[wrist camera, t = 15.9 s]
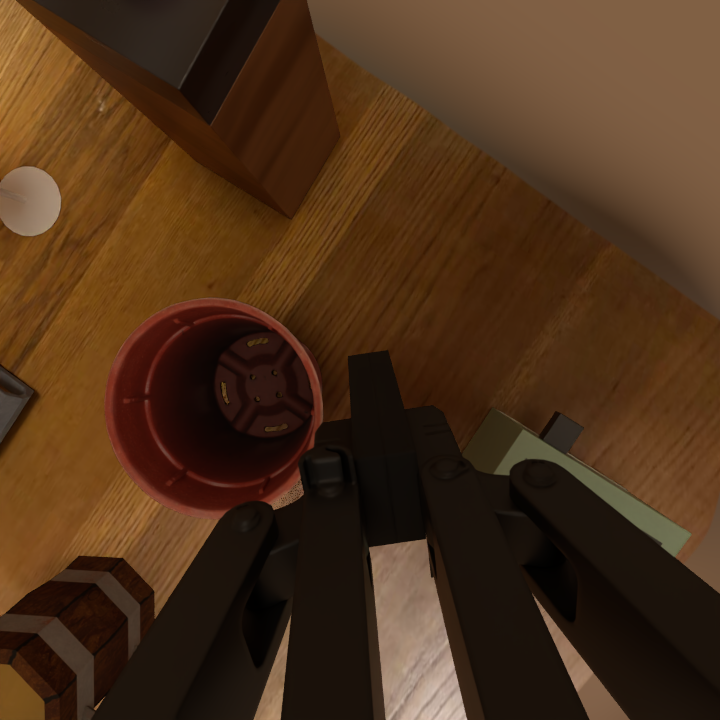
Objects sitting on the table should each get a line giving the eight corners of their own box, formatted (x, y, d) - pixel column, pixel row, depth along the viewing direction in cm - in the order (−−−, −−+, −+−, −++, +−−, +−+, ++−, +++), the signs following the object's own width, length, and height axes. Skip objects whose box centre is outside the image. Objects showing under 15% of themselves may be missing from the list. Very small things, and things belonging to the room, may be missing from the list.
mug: (28, 635, 53) (-113, 753, 38) (69, 533, 52) (-59, 614, 37) (180, 708, 52) (97, 857, 38) (225, 606, 51) (158, 719, 36)
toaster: (638, 465, 48) (713, 506, 37) (563, 572, 49) (614, 642, 38) (507, 384, 48) (542, 400, 37) (436, 492, 49) (450, 538, 38)
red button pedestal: (340, 135, 47) (283, -102, 22) (291, 220, 48) (178, 90, 22) (244, 76, 48) (71, -229, 22) (196, 161, 49) (-24, -35, 23)
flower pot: (373, 366, 49) (366, 382, 33) (289, 489, 50) (243, 562, 34) (247, 279, 49) (179, 253, 33) (167, 404, 50) (64, 437, 34)
